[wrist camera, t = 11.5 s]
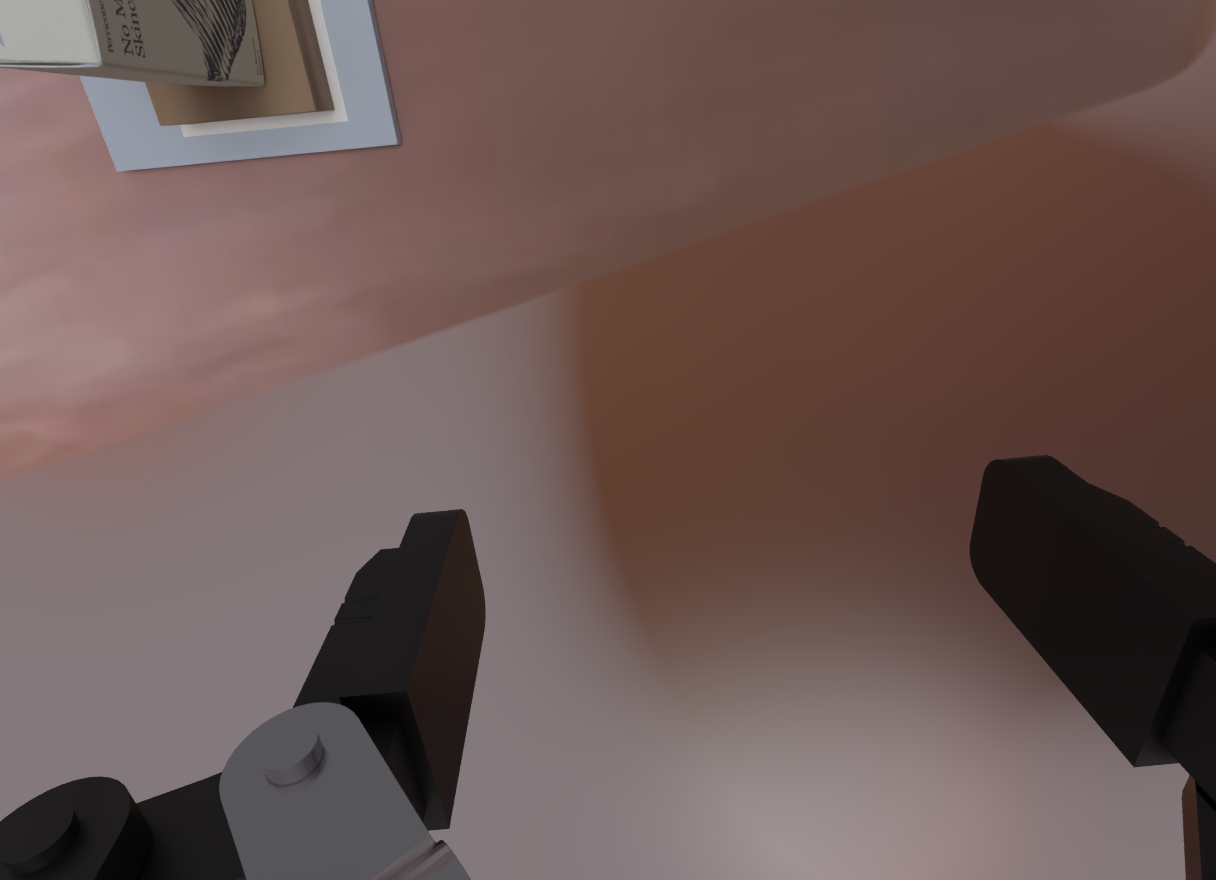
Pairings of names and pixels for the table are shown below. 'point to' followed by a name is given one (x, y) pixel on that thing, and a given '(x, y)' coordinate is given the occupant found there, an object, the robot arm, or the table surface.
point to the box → (135, 40)
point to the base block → (286, 69)
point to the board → (353, 124)
